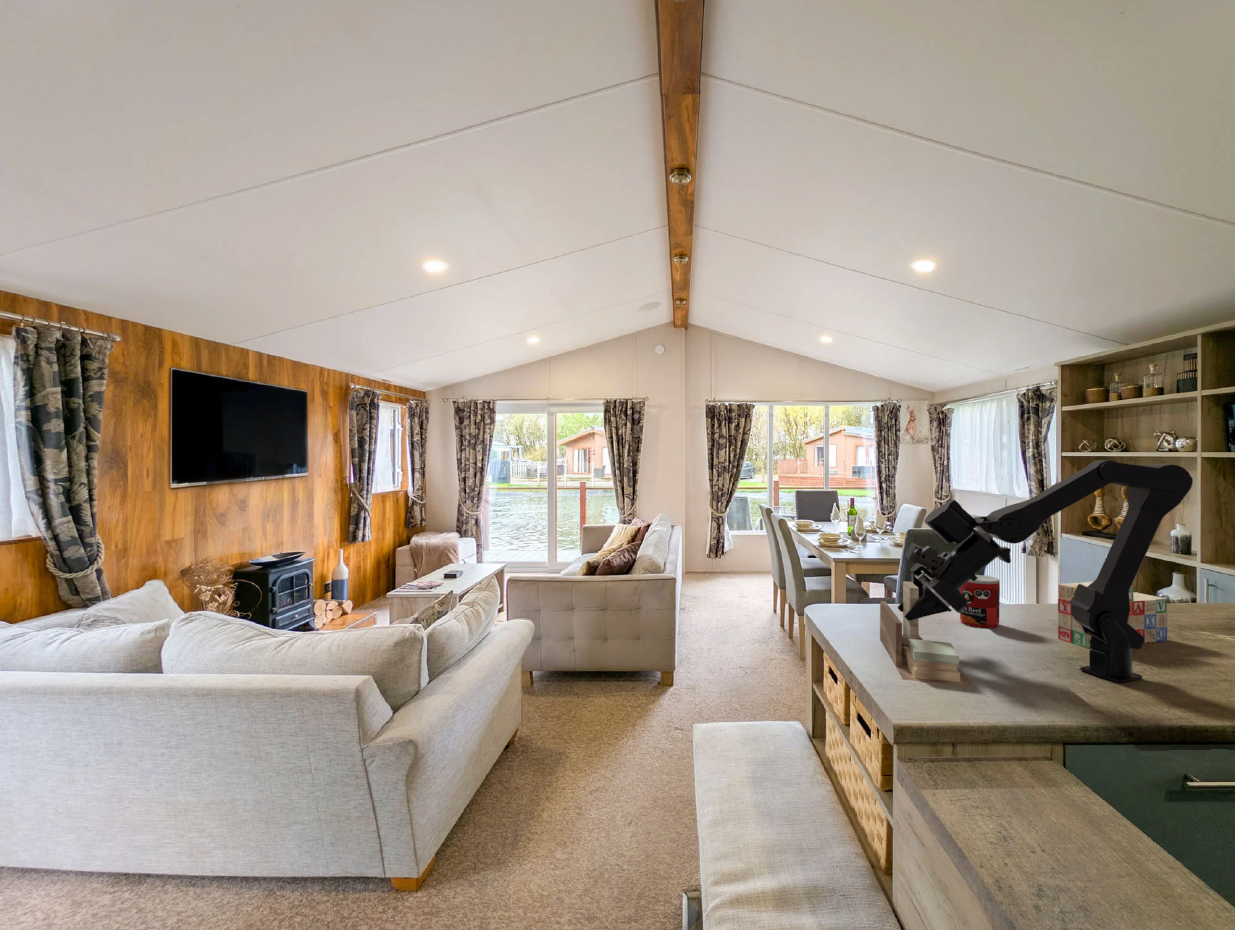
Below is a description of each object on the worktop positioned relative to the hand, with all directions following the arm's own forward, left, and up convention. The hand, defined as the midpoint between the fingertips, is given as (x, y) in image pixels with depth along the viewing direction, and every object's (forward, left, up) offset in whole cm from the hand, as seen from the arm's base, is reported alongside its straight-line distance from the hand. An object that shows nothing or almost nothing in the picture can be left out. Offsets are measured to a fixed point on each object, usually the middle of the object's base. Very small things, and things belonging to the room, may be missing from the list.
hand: (902, 614), depth 112 cm
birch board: (-1, +1, -7) cm, 7 cm away
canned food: (-35, -11, -9) cm, 38 cm away
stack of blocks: (-51, +7, -9) cm, 52 cm away
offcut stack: (+4, +10, -7) cm, 13 cm away
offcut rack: (+1, +5, -9) cm, 10 cm away
